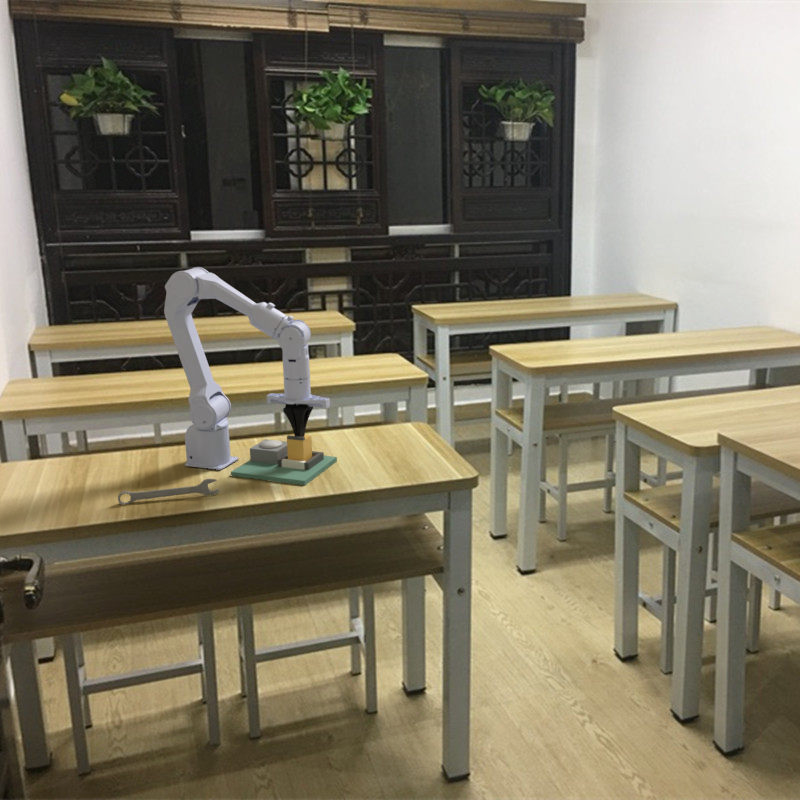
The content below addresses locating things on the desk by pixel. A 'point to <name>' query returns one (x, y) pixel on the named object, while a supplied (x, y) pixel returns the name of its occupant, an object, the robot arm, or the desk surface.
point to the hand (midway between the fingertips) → (299, 436)
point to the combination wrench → (171, 492)
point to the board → (282, 464)
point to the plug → (299, 447)
